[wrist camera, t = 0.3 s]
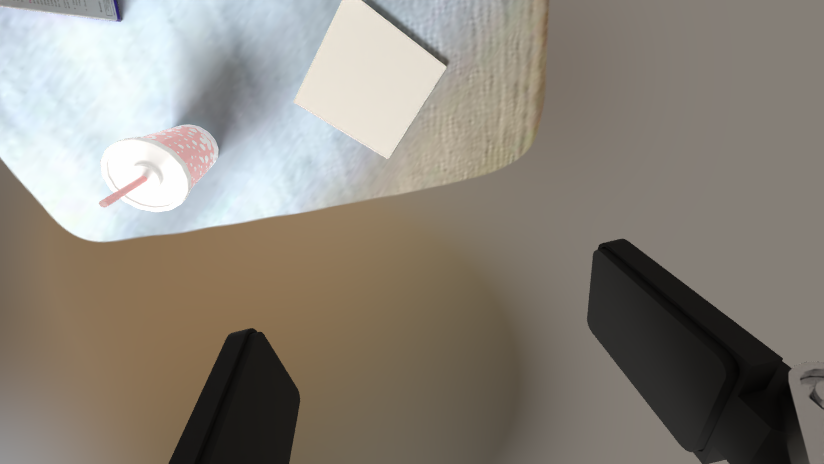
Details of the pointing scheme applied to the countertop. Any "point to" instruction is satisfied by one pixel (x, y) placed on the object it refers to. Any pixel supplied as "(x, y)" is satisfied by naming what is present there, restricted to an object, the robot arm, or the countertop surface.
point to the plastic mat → (368, 78)
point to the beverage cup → (158, 167)
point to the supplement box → (70, 7)
